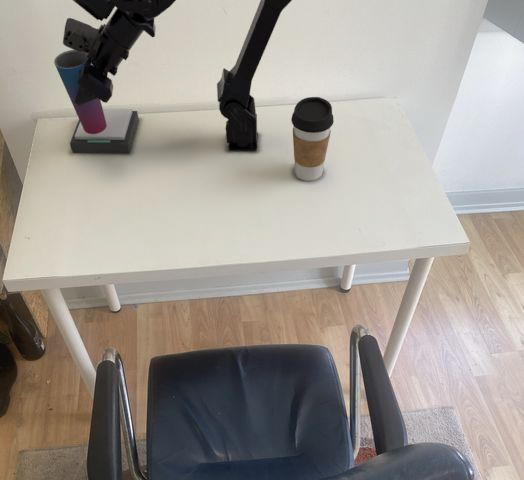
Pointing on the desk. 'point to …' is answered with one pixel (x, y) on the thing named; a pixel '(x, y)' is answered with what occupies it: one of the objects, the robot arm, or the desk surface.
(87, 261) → the desk surface
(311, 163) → the coffee cup
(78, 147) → the scale
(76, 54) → the cup
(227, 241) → the desk surface
